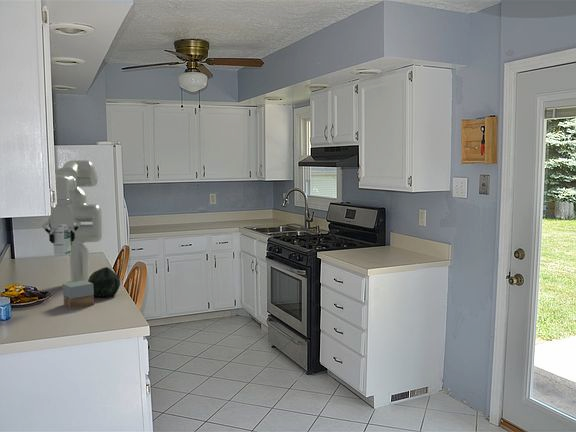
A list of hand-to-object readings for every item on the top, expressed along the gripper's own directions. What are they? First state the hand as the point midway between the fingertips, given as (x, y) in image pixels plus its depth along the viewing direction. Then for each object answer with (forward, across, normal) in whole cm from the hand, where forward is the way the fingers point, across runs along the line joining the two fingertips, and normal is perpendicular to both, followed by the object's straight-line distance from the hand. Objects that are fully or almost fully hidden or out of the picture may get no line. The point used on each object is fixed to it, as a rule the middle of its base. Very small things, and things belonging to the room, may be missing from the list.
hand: (62, 241), depth 240 cm
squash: (+28, -18, -2) cm, 34 cm away
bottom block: (+28, -4, +8) cm, 30 cm away
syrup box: (+6, 0, 0) cm, 6 cm away
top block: (+23, -4, +8) cm, 25 cm away
